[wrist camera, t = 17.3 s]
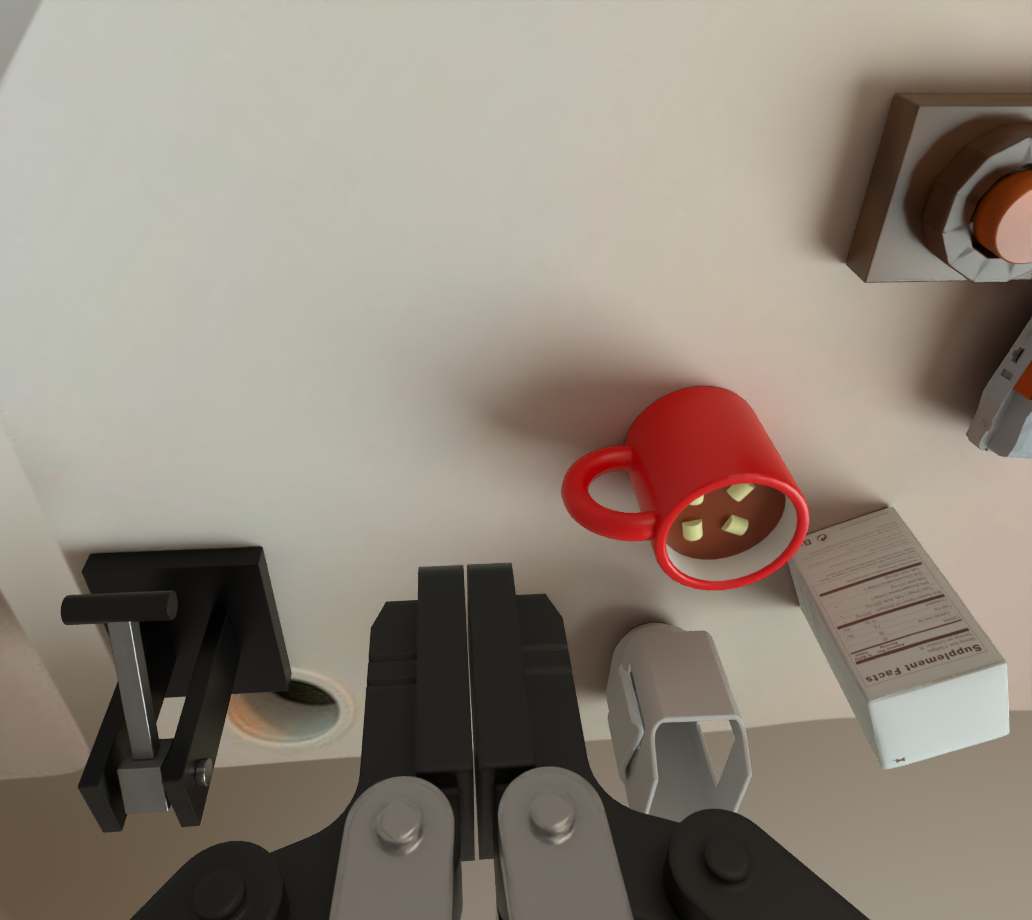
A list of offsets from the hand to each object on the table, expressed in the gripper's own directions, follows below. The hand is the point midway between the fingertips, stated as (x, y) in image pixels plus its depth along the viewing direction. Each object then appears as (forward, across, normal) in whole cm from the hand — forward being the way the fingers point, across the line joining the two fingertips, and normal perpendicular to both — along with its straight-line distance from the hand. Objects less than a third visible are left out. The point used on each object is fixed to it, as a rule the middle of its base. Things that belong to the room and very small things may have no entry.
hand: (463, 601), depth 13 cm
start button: (+23, -25, +2) cm, 34 cm away
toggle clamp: (+27, +16, +30) cm, 43 cm away
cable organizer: (+27, -14, +35) cm, 46 cm away
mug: (+27, -12, +17) cm, 34 cm away
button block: (+27, -25, +2) cm, 37 cm away
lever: (+19, +17, +25) cm, 36 cm away
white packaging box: (+27, -26, +27) cm, 46 cm away
